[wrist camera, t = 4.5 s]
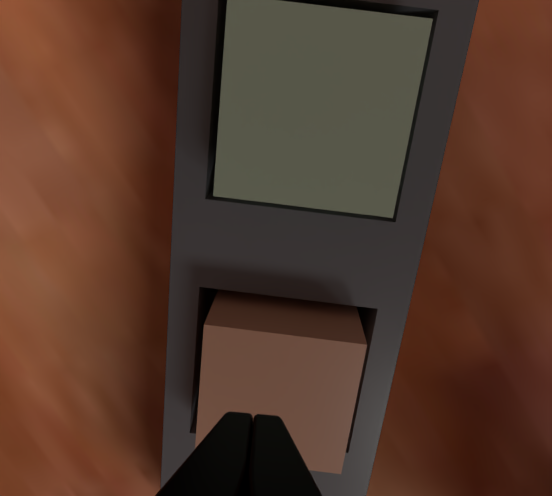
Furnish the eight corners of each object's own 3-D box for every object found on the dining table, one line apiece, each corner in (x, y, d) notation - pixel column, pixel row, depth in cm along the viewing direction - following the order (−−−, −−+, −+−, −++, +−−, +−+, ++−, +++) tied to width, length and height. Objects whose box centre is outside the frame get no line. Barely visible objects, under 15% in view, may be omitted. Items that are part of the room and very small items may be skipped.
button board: (428, 9, 17) (485, -28, 12) (326, 526, 26) (333, 636, 20) (218, -16, 17) (184, -63, 12) (184, 508, 26) (155, 613, 20)
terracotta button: (351, 289, 18) (367, 344, 14) (332, 397, 20) (341, 474, 16) (224, 273, 18) (203, 324, 14) (215, 382, 20) (194, 455, 16)
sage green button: (397, 38, 15) (433, 18, 11) (370, 188, 17) (392, 218, 13) (246, 20, 15) (227, -6, 11) (233, 172, 17) (213, 196, 13)
